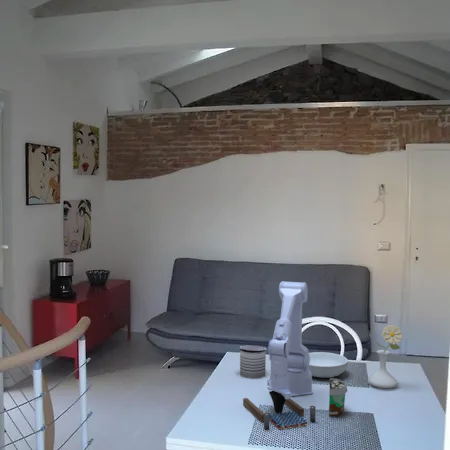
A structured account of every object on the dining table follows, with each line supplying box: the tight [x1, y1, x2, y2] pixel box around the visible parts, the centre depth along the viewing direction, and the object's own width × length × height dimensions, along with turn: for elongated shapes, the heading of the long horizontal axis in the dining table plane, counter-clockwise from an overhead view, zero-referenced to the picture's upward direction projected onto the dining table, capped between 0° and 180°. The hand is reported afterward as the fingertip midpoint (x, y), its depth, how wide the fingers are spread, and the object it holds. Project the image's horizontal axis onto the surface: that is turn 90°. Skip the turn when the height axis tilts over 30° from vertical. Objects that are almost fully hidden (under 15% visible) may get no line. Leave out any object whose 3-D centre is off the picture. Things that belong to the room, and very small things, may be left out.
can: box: [239, 344, 267, 380], centre depth 225 cm, size 11×11×12 cm
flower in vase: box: [367, 324, 404, 389], centre depth 211 cm, size 13×11×25 cm
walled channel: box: [242, 397, 305, 424], centre depth 186 cm, size 16×16×2 cm
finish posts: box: [263, 405, 316, 431], centre depth 174 cm, size 19×2×5 cm, turn 111°
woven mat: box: [269, 410, 308, 430], centre depth 176 cm, size 10×11×2 cm
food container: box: [328, 377, 348, 418], centre depth 185 cm, size 12×6×10 cm, turn 168°
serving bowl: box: [308, 351, 349, 379], centre depth 225 cm, size 21×21×7 cm
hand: (278, 412), depth 182 cm, fingers closed
